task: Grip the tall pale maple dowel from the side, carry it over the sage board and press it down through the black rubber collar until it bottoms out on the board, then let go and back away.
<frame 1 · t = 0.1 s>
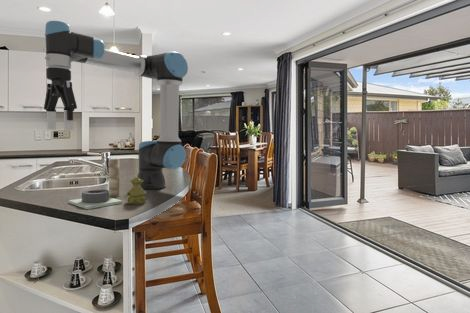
hand: (60, 130, 112), 28 cm above the countertop, tool pointing down, fingers open, 13 cm apart
socket: (95, 203, 123), on the countertop
olive twisted vase: (136, 202, 126), on the countertop
peg: (114, 196, 137), on the countertop
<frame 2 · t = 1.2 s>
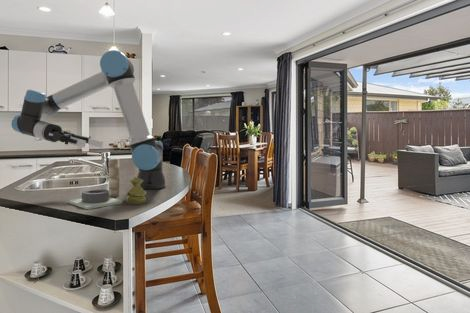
hand: (94, 144, 136), 22 cm above the countertop, tool horizontal, fingers open, 13 cm apart
nothing on the countertop moved.
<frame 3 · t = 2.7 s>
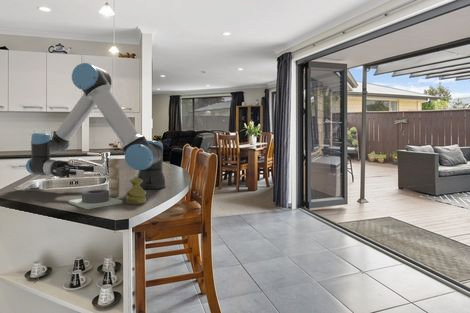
hand: (95, 171, 139), 10 cm above the countertop, tool horizontal, fingers open, 13 cm apart
nothing on the countertop moved.
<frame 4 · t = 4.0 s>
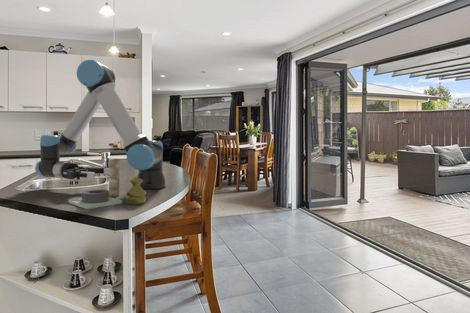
hand: (105, 173, 137), 9 cm above the countertop, tool horizontal, fingers open, 13 cm apart
nothing on the countertop moved.
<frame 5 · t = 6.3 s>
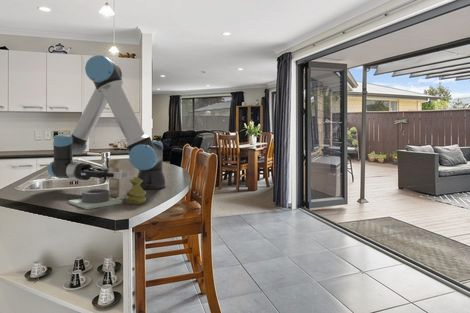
hand: (124, 174, 134), 10 cm above the countertop, tool horizontal, fingers closed on peg, 4 cm apart
peg: (114, 196, 137), on the countertop, touching gripper
everything else where it was.
when the fingers open (11 cm above the countertop, at t = 10.6 s): peg stays where it is, resting on socket.
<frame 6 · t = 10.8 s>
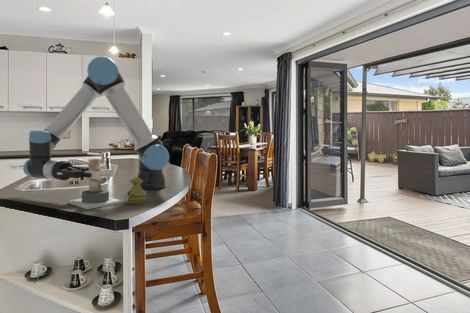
hand: (106, 174, 120), 11 cm above the countertop, tool horizontal, fingers open, 7 cm apart
peg: (95, 200, 123), point 1 cm above the countertop, touching socket
everything else where it was.
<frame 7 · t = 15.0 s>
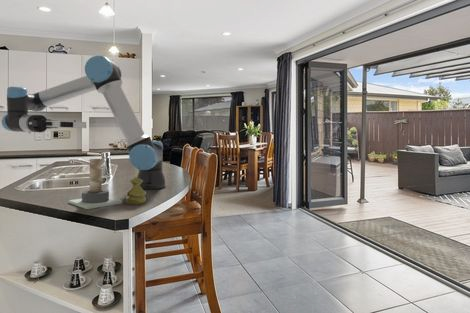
hand: (73, 124, 132), 30 cm above the countertop, tool horizontal, fingers open, 13 cm apart
nothing on the countertop moved.
at the end: peg 0.1 cm off-centre in the socket, point 1.0 cm above the socket's base; peg tilted 1°; the gripper is holding nothing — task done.
